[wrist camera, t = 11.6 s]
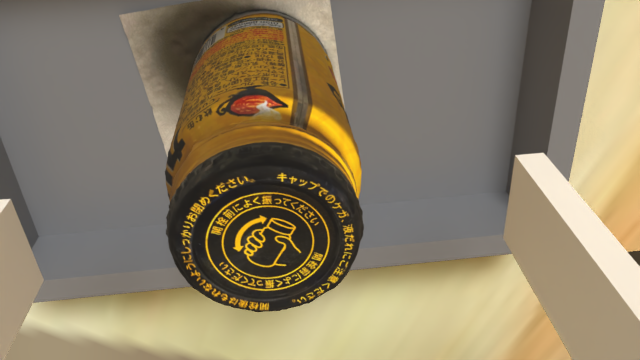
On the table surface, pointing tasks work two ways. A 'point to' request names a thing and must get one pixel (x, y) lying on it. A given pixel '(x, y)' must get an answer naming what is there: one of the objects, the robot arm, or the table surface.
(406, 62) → the tray
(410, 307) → the table surface
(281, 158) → the condiment
